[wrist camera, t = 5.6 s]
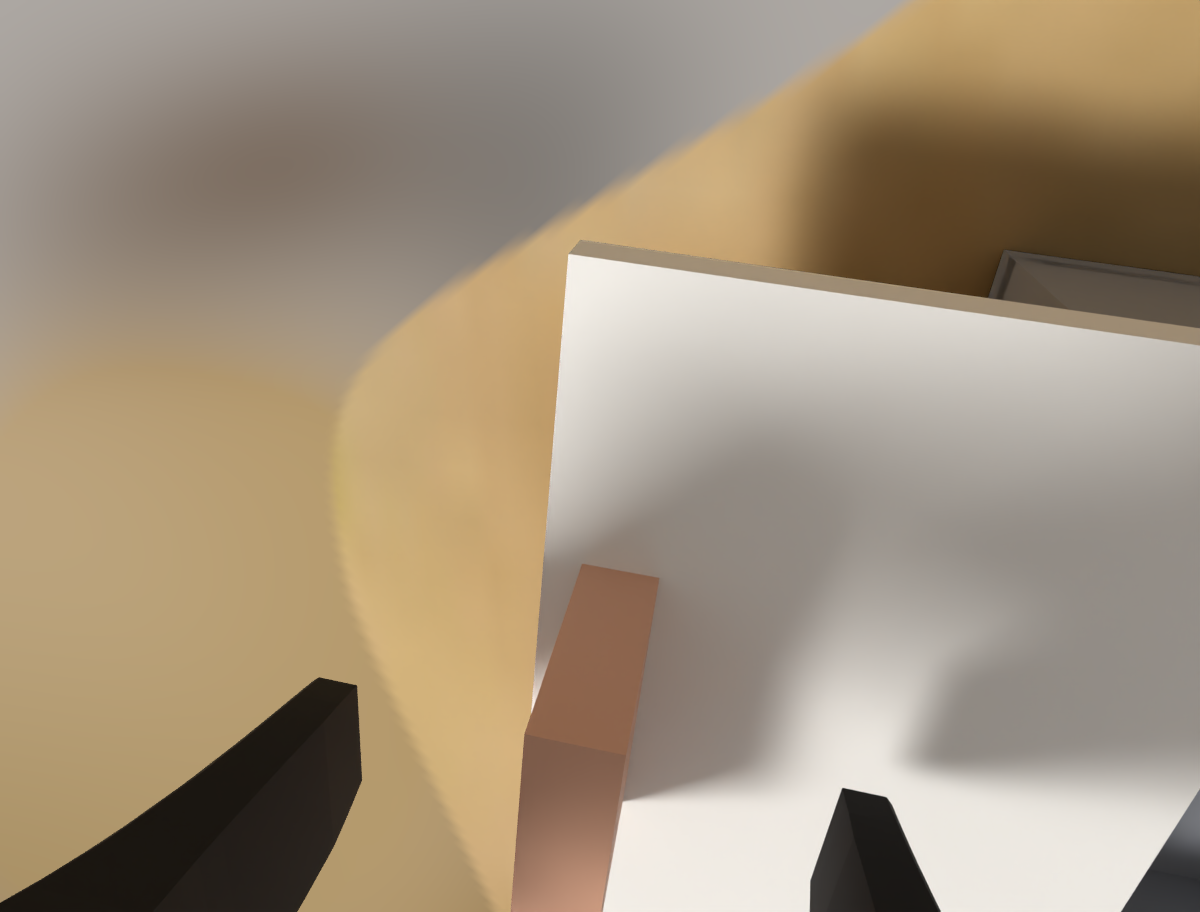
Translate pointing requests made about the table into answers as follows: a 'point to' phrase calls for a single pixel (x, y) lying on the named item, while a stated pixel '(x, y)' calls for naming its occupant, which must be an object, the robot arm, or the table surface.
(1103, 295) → the carton
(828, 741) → the carton lid
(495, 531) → the table surface
